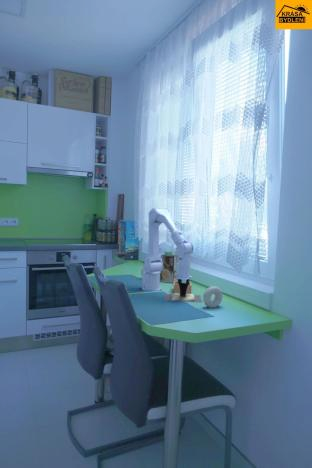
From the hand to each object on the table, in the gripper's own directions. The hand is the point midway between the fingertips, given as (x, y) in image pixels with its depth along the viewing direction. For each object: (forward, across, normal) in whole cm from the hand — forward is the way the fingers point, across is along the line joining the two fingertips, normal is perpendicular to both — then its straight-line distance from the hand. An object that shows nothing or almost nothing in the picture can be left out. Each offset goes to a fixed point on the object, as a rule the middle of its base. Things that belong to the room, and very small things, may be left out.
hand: (182, 294), depth 166 cm
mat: (+2, 0, 0) cm, 2 cm away
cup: (+2, +43, +20) cm, 47 cm away
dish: (+2, +13, 0) cm, 13 cm away
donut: (+2, -13, -13) cm, 19 cm away
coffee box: (+2, +39, +8) cm, 40 cm away
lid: (+2, 0, 0) cm, 2 cm away
